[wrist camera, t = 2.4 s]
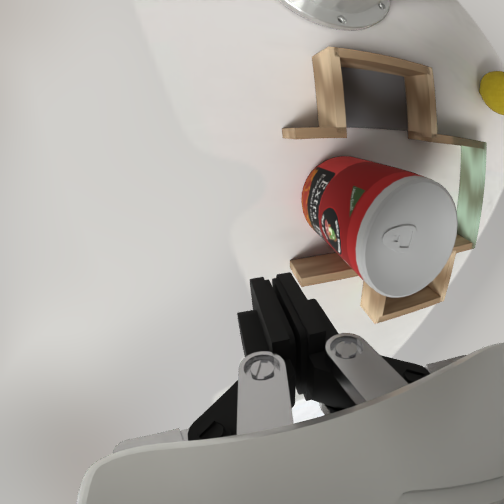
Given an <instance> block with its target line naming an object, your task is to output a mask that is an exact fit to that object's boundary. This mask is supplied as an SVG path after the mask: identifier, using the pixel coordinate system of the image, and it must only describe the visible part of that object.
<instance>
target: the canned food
mask: <svg viewBox="0 0 504 504" xmlns="http://www.w3.org/2000/svg"><path fill="white" fill-rule="evenodd" d="M302 207H303V213H304V215H305V218H306V220H307V222H308V223H309V225H310V226H311V227H312V228H313V229H314V230H315V231H316V232H317V233H318V234H319V235H320V236H321V237H322V238H323V239H324V240H325V241H326V242H327V243H328V244H329V245H330V246H331V247H332V248H333V249H334V250H335V251H336V253H337V254H338V255H339V256H340V257H341V258H342V259H343V260H344V261H345V262H346V263H347V264H348V265H349V266H350V267H351V268H352V269H353V270H354V271H355V272H356V273H357V274H358V275H359V276H360V277H361V278H362V279H363V280H364V281H365V282H366V283H367V284H368V285H369V286H370V287H371V288H373V289H374V290H375V291H376V292H378V293H380V294H381V295H383V296H387V297H394V298H400V297H404V296H409V295H411V294H414V293H416V292H418V291H419V290H421V289H423V288H424V287H426V286H427V285H428V284H429V283H430V282H432V281H433V280H434V279H435V278H436V276H437V275H438V274H439V273H440V272H441V270H442V269H443V267H444V266H445V265H446V263H447V261H448V259H449V257H450V255H451V253H452V250H453V247H454V244H455V240H456V236H457V226H458V221H457V211H456V207H455V204H454V201H453V199H452V197H451V195H450V194H449V193H448V191H447V190H446V189H445V188H444V187H443V186H442V185H440V184H439V183H437V182H435V181H433V180H432V179H429V178H427V177H424V176H421V175H418V174H415V173H412V172H409V171H405V170H402V169H398V168H395V167H391V166H387V165H383V164H379V163H375V162H371V161H367V160H363V159H359V158H354V157H347V156H341V157H334V158H332V159H329V160H326V161H325V162H323V163H321V164H320V165H318V166H317V167H316V168H315V169H314V170H313V171H312V172H311V173H310V175H309V176H308V178H307V179H306V182H305V184H304V186H303V191H302Z"/></svg>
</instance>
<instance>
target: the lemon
mask: <svg viewBox="0 0 504 504" xmlns="http://www.w3.org/2000/svg"><path fill="white" fill-rule="evenodd" d="M479 92H480V94H481V96H482V98H483V100H484V102H485V103H486V105H487V106H488V107H489V108H490V109H492V110H493V111H495V112H496V113H498V114H501V115H504V72H502V71H493V72H489V73H487V74H486V75H484V76H483V78H482V80H481V83H480V90H479Z"/></svg>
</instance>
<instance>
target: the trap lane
mask: <svg viewBox="0 0 504 504" xmlns="http://www.w3.org/2000/svg"><path fill="white" fill-rule="evenodd" d="M312 61H313V70H314V78H315V88H316V99H317V110H318V123H319V127H307V128H283V129H282V134H283V138H288V139H311V138H347V131H346V127H355V128H379V129H394V130H406V131H408V139H415V140H422V141H428V142H436V143H445V144H453V145H460V146H461V172H460V187H459V197H458V207H457V221H458V226H457V236H456V240H455V244H454V247H453V250H452V253H451V255H450V257H449V259H448V261H447V263H446V265H445V266H444V267H443V269H442V270H441V272H440V273H439V274H438V275H437V276H436V278H435V279H434V280H433V281H432V282H430V283H429V284H428V285H427V286H426V287H424V288H423V289H421V290H419V291H418V292H416V293H414V294H411V295H409V296H404V297H400V298H394V297H387V296H383V295H381V294H380V293H378V292H376V291H375V290H374V289H373V288H371V287H370V286H369V285H368V284H367V283H366V282H365V281H364V282H363V290H362V298H361V305H360V306H361V307H362V308H363V310H364V311H365V312H366V313H367V315H368V316H369V317H370V318H371V320H372V321H373V322H374V323H375V324H376V323H379V322H383V321H386V320H389V319H393V318H396V317H399V316H402V315H405V314H408V313H411V312H414V311H417V310H420V309H423V308H426V307H429V306H431V305H434V304H437V303H439V302H442V301H444V299H445V295H446V292H447V288H448V284H449V280H450V276H451V272H452V268H453V264H454V259H455V255H456V253H458V252H462V251H466V250H470V249H474V248H475V245H476V240H477V235H478V229H479V223H480V217H481V210H482V203H483V194H484V184H485V171H486V142H481V141H476V140H471V139H466V138H460V137H454V136H448V135H441V134H437V115H436V100H435V89H434V79H433V71H432V68H431V67H428V66H425V65H421V64H418V63H414V62H410V61H407V60H403V59H399V58H394V57H390V56H385V55H380V54H375V53H370V52H364V51H358V50H352V49H345V48H337V47H327V48H325V49H324V50H322V51H321V52H319V53H317V54H316V55H314V56H313V57H312ZM404 80H405V82H404ZM405 89H406V92H405ZM406 101H407V104H406ZM407 116H408V121H407ZM290 268H291V270H292V272H293V273H294V275H295V277H296V278H297V280H298V282H299V284H300V285H301V287H304V286H309V285H314V284H320V283H325V282H330V281H335V280H340V279H345V278H350V277H355V276H359V275H358V274H357V273H356V272H355V271H354V270H353V269H352V268H351V267H350V266H349V265H348V264H347V263H346V262H345V261H344V260H343V259H342V258H341V257H340V256H339V255H338V254H337V253H332V254H326V255H319V256H313V257H307V258H301V259H295V260H290Z"/></svg>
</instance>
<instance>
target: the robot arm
mask: <svg viewBox="0 0 504 504" xmlns="http://www.w3.org/2000/svg"><path fill="white" fill-rule="evenodd" d="M279 1H280V2H281V3H282V4H283V5H285V6H286V7H287V8H289V9H290V10H291V11H293V12H294V13H296V14H298V15H300V16H301V17H303V18H305V19H307V20H309V21H312V22H314V23H316V24H319V25H322V26H325V27H328V28H333V29H339V30H360V29H365V28H367V27H370V26H372V25H374V24H376V23H378V22H380V21H381V20H382V19H383V18H384V17H385V15H386V14H387V12H388V10H389V5H390V0H279ZM272 285H273V287H272ZM272 285H271V283H270V281H269V280H264V278H263V277H260V278H253V279H250V287H251V296H252V305H253V310H251V311H246V312H240V313H237V315H238V322H239V328H240V334H241V339H242V345H243V350H244V355H245V358H244V359H243V360H242V361H241V363H240V365H239V373H238V380H237V381H236V382H235V383H234V384H233V385H232V386H231V387H230V388H229V389H228V390H227V391H226V392H225V393H224V394H223V395H222V396H221V397H220V398H219V399H218V400H217V401H216V402H215V403H214V404H213V405H212V406H211V407H210V408H209V409H208V410H207V411H205V412H204V414H202V415H201V416H200V417H199V418H198V419H197V420H196V421H195V422H194V423H193V424H192V425H191V426H190V428H189V429H186V430H182V431H180V429H179V428H178V429H174V430H170V431H166V432H162V433H157V434H153V435H149V436H144V437H139V438H134V439H128V440H125V441H122V442H120V443H119V444H118V445H117V446H116V447H115V449H114V450H113V454H111V455H108V456H106V457H104V458H102V459H100V460H98V461H96V462H95V463H94V464H92V465H91V467H90V468H89V469H88V470H87V472H86V474H85V475H84V478H83V480H82V483H81V486H80V489H79V493H78V498H77V503H76V504H504V343H499V344H494V345H491V346H487V347H484V348H482V349H479V350H477V351H474V352H472V353H470V354H468V355H463V356H458V357H455V358H451V359H447V360H443V361H439V362H436V363H431V364H427V365H426V366H425V368H424V367H423V366H420V365H417V364H413V363H409V362H404V361H400V360H397V359H393V358H389V357H385V356H381V355H379V354H378V353H377V352H376V351H375V350H374V349H373V348H372V347H371V346H370V345H369V344H368V343H367V342H366V341H365V340H364V339H363V338H361V337H360V336H358V335H355V334H351V333H341V334H338V332H337V331H336V329H335V328H334V326H333V325H332V323H331V322H330V320H329V319H328V317H327V315H326V314H325V312H324V311H323V309H322V308H321V306H320V305H319V303H318V302H317V301H316V299H310V300H307V298H306V297H305V295H304V293H303V292H302V290H301V289H300V287H299V285H298V284H297V282H296V281H295V279H294V277H293V276H292V274H291V273H290V272H289V273H283V274H277V276H276V278H274V279H272ZM295 387H296V389H297V392H298V394H299V395H300V394H304V397H305V399H306V401H308V400H314V401H317V402H319V406H320V408H321V410H322V411H323V413H324V414H325V415H324V416H321V417H317V418H314V419H310V420H306V421H303V422H299V423H295V424H293V416H292V407H293V406H294V405H295Z"/></svg>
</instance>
